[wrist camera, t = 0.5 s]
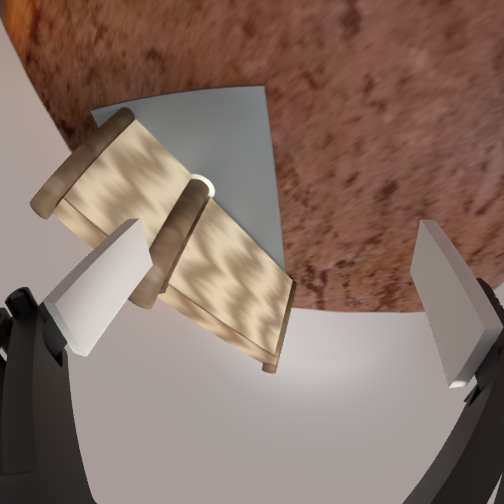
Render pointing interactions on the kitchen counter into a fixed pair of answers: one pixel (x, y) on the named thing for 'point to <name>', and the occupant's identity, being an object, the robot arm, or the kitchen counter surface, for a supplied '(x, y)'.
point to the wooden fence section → (125, 194)
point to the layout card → (220, 151)
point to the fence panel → (231, 286)
